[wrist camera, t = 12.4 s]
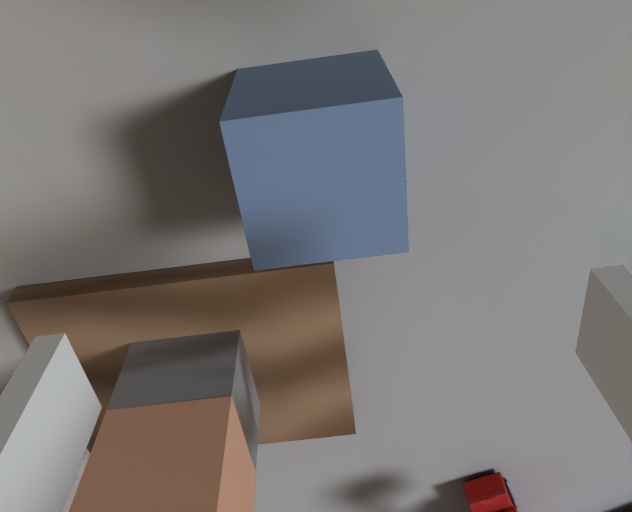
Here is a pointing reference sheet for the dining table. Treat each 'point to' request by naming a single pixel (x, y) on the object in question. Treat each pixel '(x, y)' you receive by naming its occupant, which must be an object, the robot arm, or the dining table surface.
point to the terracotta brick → (169, 461)
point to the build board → (211, 306)
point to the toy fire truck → (489, 494)
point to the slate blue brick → (318, 159)
